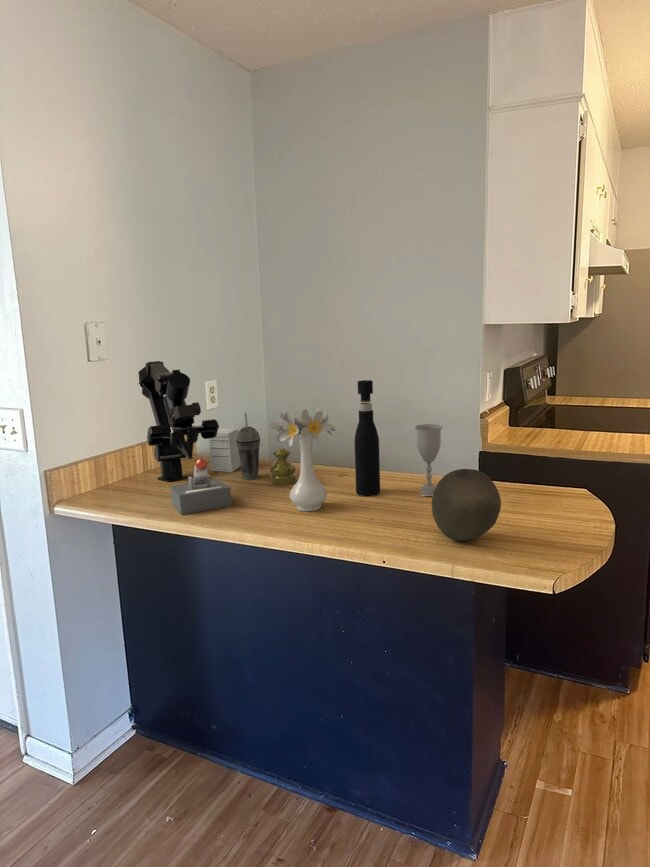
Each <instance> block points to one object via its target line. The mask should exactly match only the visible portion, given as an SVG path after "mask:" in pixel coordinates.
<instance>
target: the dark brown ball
mask: <svg viewBox="0 0 650 867" xmlns="http://www.w3.org/2000/svg"><path fill="white" fill-rule="evenodd" d="M435 486H436V488H435V490H434V493H433V496H432V497H431V513H432V517H433V520H434V522H435V524H436V526H437V528H438V529H439V530H440V531H441V534H443V535H444V536H446V538H448V539H451V540H453V541H457V542H468V541H471V540H474V539H478V538H480V537H482V536H483V535H485V534H486V533H487V532H488V531H489V530H491V529H492V528H493V527H494V525H495V524H496V523H497V520H498V518H499V515H500V511H501V509H502V508H501V507H502V501H501V500H502V499H501V496H500V491H499V490H498V488H497V487H496V484H495V483H494V481H493V480H492V479H491V478H490V477H489V475H488V474H486V473H485V472H483V471H481V470H477V469H473V468H472V469H471V468H459V469H455V470H451V471H450V472H448V473H447V474H445V475H443V476H442V478H441V479H440V480H438V482H437V484H436V485H435Z"/></svg>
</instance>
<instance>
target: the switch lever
mask: <svg viewBox="0 0 650 867" xmlns="http://www.w3.org/2000/svg"><path fill="white" fill-rule="evenodd" d="M193 468H194V469H193V477H192V478H193V483H194V485H195V486H196V485H203V484H206V481H207V474H208V473H209V472H208V471H209V466H208V461H207V460H206V458H202V457H201V458H198V459H197V460H196V461H195V463H194V467H193Z"/></svg>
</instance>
